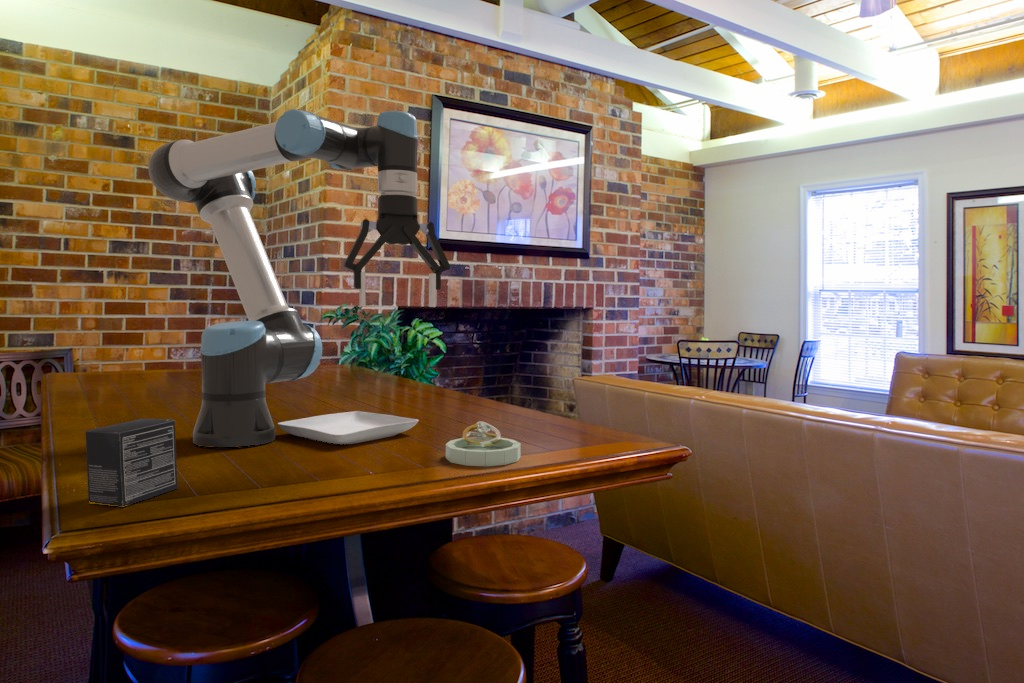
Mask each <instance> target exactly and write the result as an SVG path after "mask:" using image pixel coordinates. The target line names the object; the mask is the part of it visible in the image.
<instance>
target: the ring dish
mask: <svg viewBox="0 0 1024 683" xmlns="http://www.w3.org/2000/svg"><path fill="white" fill-rule="evenodd" d="M468 438H469V439H470V440H473V441H481V440H484V441H488V440H492V439H494V438H493V437H489V436H486V437H480V436H473V437H472V436H471V437H470V436H468ZM521 444H522V443H520V442H518V441H517V440H515V439H511V438H506V437H505V438H504V437H501V440H500V442H498V443H496V444H493V445H489V446H485V447H477V446H471V445H468V444H466V443H465V442H464V441H463V437H461V438H455V439H451V440H449V441H448V442H447V443H445V459H446V460H447V461H449V463H451V464H456V465H461V466H465V467H466V466H470V467H495V466H496V467H497V466H506V465H510V464H513V463H516V462H519V460H520V459H521V455H522V454H521V450H522V449H521Z"/></svg>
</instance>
